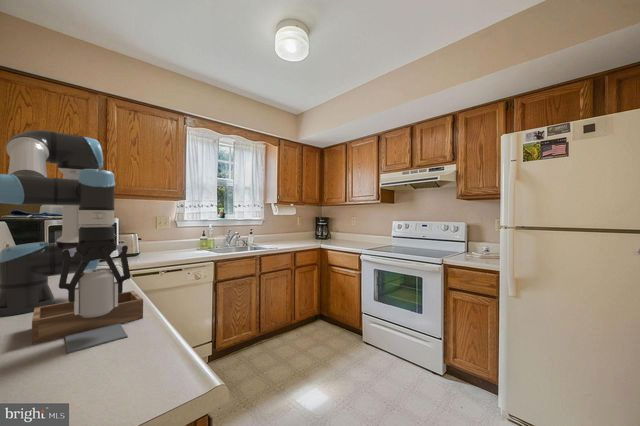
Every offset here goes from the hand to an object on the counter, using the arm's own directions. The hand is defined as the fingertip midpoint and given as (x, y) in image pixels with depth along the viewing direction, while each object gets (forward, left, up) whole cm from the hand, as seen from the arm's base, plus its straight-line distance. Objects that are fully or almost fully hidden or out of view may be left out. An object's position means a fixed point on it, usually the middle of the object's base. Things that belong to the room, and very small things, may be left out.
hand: (96, 309), depth 72 cm
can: (0, 0, -1) cm, 1 cm away
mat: (0, 0, -8) cm, 8 cm away
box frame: (-14, 0, -8) cm, 16 cm away
